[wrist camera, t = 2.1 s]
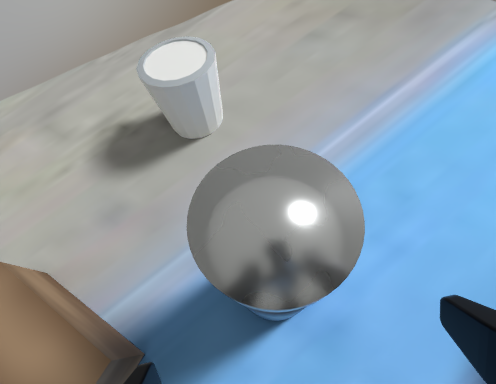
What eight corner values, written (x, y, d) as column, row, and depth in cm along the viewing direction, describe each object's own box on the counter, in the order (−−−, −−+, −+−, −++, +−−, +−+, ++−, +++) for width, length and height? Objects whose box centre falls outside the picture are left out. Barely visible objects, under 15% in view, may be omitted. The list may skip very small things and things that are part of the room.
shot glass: (157, 115, 28) (124, 57, 22) (209, 88, 30) (191, 25, 23) (184, 154, 25) (154, 98, 19) (241, 122, 26) (230, 60, 20)
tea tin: (291, 337, 17) (321, 355, 6) (225, 295, 18) (151, 248, 7) (322, 267, 19) (387, 180, 8) (260, 234, 20) (242, 126, 9)
